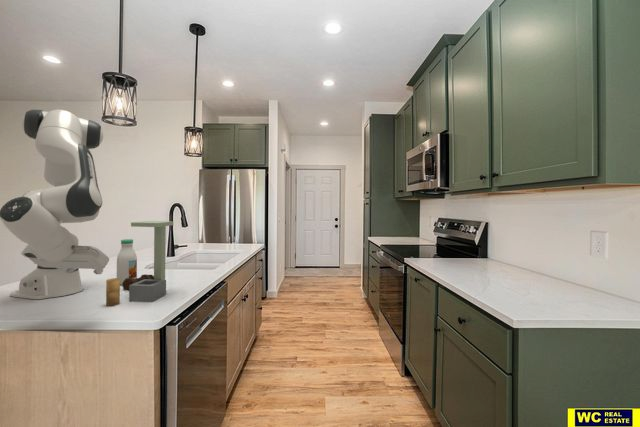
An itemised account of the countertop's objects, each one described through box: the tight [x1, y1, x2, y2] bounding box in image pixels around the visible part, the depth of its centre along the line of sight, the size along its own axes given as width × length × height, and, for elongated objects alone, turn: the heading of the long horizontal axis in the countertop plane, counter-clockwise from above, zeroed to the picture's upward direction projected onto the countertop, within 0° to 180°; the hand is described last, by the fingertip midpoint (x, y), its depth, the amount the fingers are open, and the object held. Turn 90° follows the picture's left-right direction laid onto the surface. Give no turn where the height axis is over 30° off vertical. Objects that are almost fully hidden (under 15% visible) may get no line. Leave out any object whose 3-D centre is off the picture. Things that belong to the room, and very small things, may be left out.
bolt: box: [121, 273, 154, 292], centre depth 129 cm, size 6×5×15 cm
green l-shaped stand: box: [130, 220, 174, 280], centre depth 115 cm, size 10×12×30 cm
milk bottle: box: [116, 238, 138, 286], centre depth 132 cm, size 8×8×20 cm
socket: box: [128, 279, 167, 303], centre depth 113 cm, size 9×9×6 cm
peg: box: [105, 277, 121, 307], centre depth 105 cm, size 4×4×9 cm
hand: (85, 272), depth 93 cm, fingers open, 8 cm apart
